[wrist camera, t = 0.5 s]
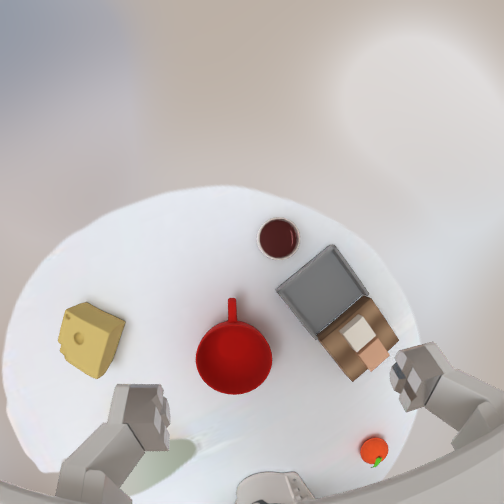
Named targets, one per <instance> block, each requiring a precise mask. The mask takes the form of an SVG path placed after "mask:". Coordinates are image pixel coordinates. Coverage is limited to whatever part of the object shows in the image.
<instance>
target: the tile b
mask: <svg viewBox="0 0 504 504" xmlns="http://www.w3.org/2000/svg"><path fill="white" fill-rule="evenodd" d="M354 352H355V353H356V355H357V356H358V357H359V359H360V360H361V361H362V363H363V364H364V365H365V367H366V368H367V369H368V370H370V371H371V372H372V371H373V370H374V369H375V368H376V367H377V366H378V365H380V364H381V363H382V362H383V361H384V360H385V359H386V358H387V357H388V356H389V353H388V352H387V350H386V349H385V347H384V346H383V345H382V343H381V342H380V340H379V339H378V338H377V337H374V338H373V339H372V340H370V341H369V342H368V343H367V344H366V345H365V346H364V347H362V348H361V349H360V350H359V351H358V352H356V351H354Z"/></svg>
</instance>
